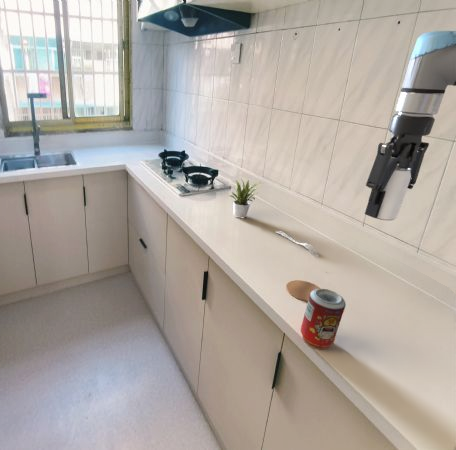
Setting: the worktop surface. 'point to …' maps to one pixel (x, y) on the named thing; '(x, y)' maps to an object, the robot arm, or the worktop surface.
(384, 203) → the can
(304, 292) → the cork coaster
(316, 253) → the fork
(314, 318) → the soda can
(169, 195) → the worktop surface
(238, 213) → the house plant
